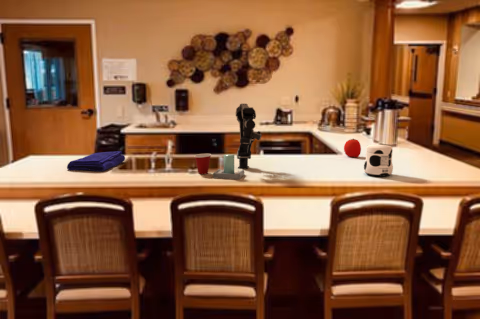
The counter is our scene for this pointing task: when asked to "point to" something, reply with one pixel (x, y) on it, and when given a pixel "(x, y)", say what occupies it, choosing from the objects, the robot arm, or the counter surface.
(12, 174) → the counter surface
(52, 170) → the counter surface
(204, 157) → the plastic cup
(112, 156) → the towel
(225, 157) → the pale green upright block
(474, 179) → the counter surface
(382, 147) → the milk container
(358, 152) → the tomato
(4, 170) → the counter surface
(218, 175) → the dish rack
